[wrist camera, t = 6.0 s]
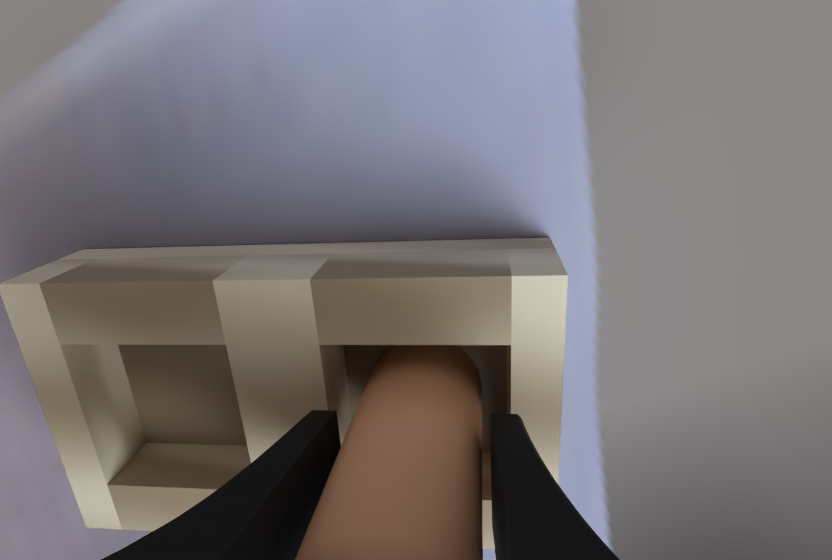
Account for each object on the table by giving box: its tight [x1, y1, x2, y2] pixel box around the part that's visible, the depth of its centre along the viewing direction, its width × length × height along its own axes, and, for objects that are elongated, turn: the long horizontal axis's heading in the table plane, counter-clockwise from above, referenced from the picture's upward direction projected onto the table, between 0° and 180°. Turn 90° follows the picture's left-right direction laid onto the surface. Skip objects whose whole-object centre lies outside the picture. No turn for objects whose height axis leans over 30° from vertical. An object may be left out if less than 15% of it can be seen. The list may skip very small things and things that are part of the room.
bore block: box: [0, 237, 568, 549], centre depth 15 cm, size 8×14×3 cm, turn 94°
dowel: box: [295, 345, 483, 560], centre depth 11 cm, size 3×3×7 cm
